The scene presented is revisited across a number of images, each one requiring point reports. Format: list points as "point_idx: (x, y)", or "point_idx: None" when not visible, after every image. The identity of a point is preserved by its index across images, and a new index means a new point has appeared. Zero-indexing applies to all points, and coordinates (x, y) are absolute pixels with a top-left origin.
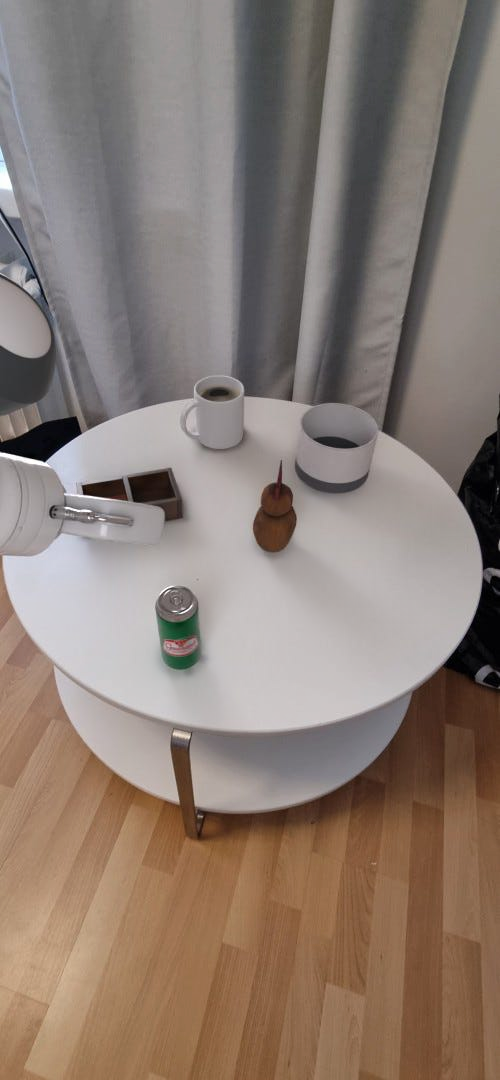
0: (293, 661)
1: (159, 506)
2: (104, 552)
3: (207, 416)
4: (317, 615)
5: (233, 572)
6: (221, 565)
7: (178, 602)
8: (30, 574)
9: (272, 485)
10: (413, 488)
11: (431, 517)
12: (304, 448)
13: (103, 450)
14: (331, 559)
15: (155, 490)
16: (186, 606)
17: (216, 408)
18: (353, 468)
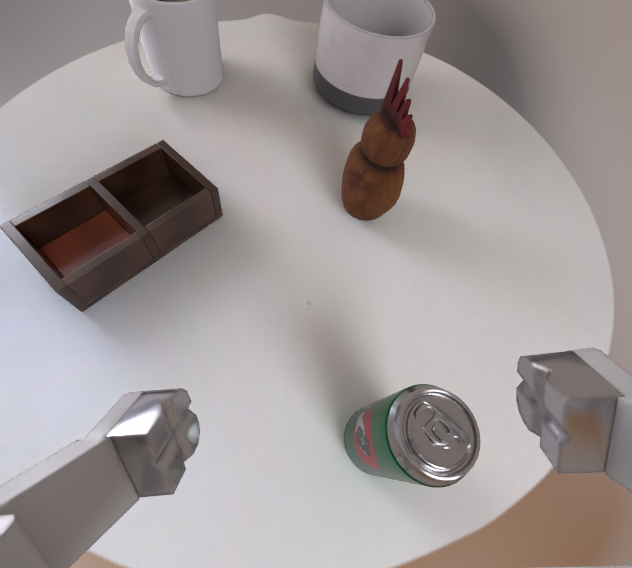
0: (500, 360)
1: (187, 213)
2: (135, 326)
3: (172, 37)
4: (476, 281)
5: (345, 269)
6: (323, 265)
7: (449, 435)
8: (15, 442)
9: (382, 115)
10: (446, 84)
11: (484, 112)
12: (349, 52)
13: (15, 147)
14: (436, 200)
15: (152, 186)
16: (469, 435)
17: (184, 16)
18: (413, 67)
